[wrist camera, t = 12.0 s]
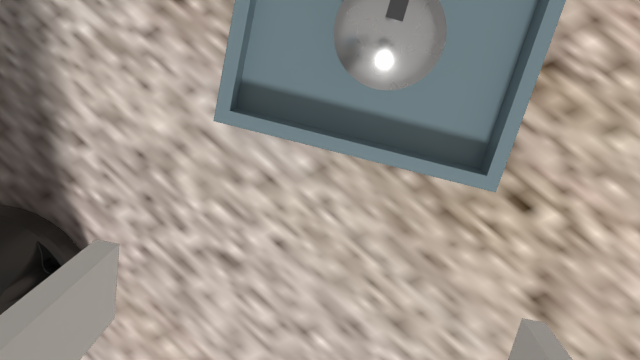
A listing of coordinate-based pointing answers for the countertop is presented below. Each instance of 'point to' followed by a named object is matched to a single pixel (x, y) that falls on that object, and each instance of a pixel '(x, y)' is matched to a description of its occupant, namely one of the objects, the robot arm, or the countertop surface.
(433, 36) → the knob
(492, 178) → the parts tray
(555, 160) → the countertop surface
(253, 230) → the countertop surface
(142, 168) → the countertop surface
